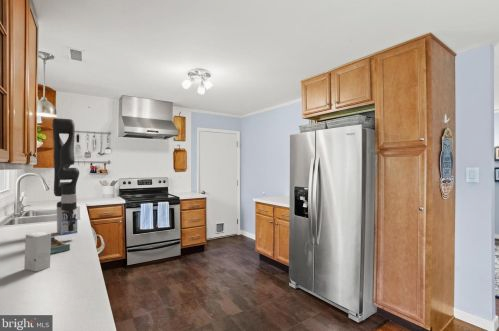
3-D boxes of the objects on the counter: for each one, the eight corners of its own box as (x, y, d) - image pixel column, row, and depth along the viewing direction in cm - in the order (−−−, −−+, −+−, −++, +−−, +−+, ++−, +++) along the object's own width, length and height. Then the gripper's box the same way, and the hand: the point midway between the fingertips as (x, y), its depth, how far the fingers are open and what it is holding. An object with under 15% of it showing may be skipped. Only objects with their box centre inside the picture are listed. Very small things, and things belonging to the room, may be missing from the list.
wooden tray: (34, 246, 145) (34, 240, 145) (53, 242, 152) (53, 237, 152) (48, 254, 131) (48, 248, 131) (69, 250, 138) (69, 244, 138)
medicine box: (61, 235, 152) (61, 220, 152) (60, 233, 155) (60, 219, 155) (77, 233, 157) (77, 218, 157) (76, 231, 161) (76, 217, 160)
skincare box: (23, 269, 112) (23, 234, 112) (39, 264, 118) (39, 231, 118) (36, 272, 109) (36, 236, 109) (51, 267, 115) (51, 232, 115)
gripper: (56, 201, 157) (57, 229, 158) (66, 203, 149) (66, 233, 149) (71, 199, 163) (71, 227, 164) (80, 202, 155) (81, 231, 155)
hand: (69, 230), depth 156 cm, fingers closed on medicine box, 5 cm apart
